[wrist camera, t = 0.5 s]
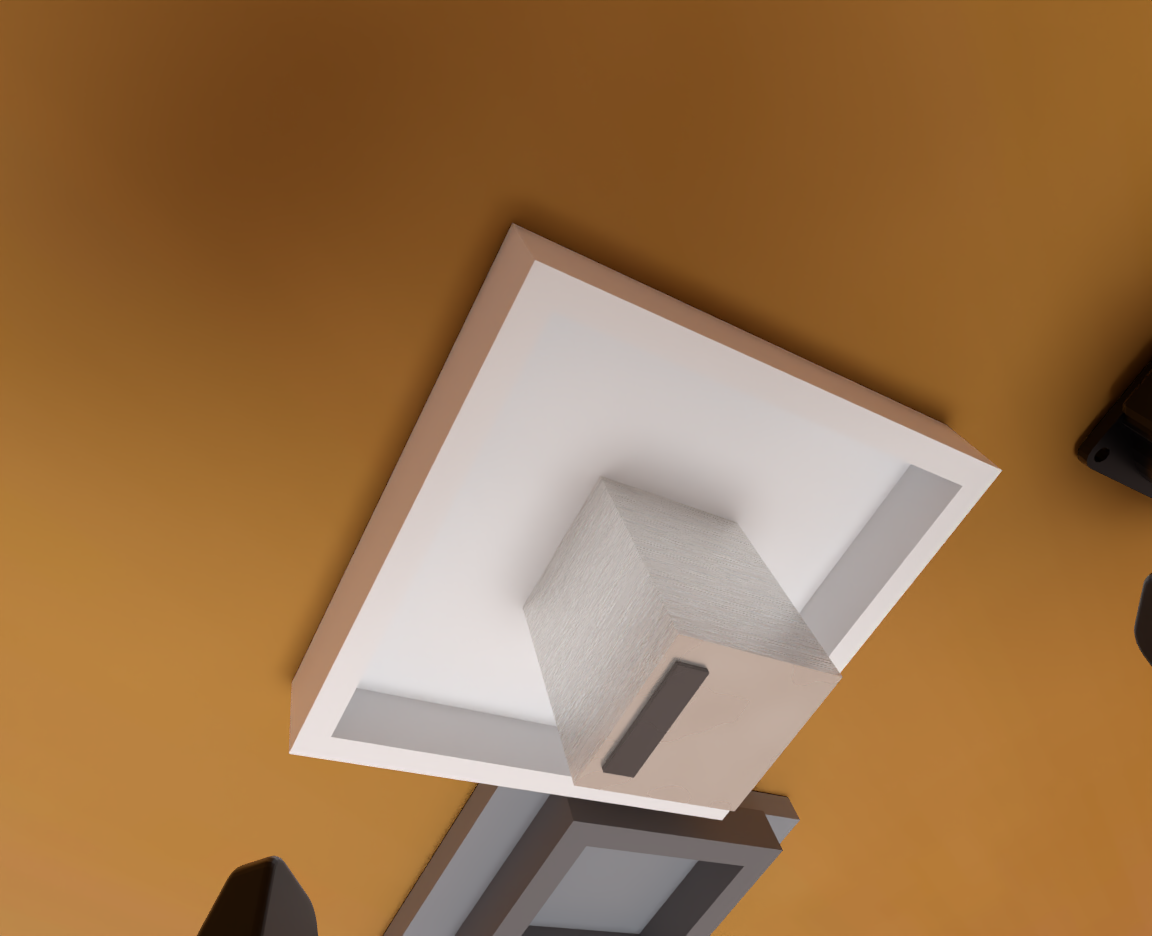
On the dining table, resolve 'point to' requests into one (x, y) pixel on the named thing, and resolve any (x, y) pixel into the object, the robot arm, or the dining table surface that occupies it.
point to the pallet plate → (590, 867)
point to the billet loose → (670, 651)
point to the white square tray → (560, 488)
